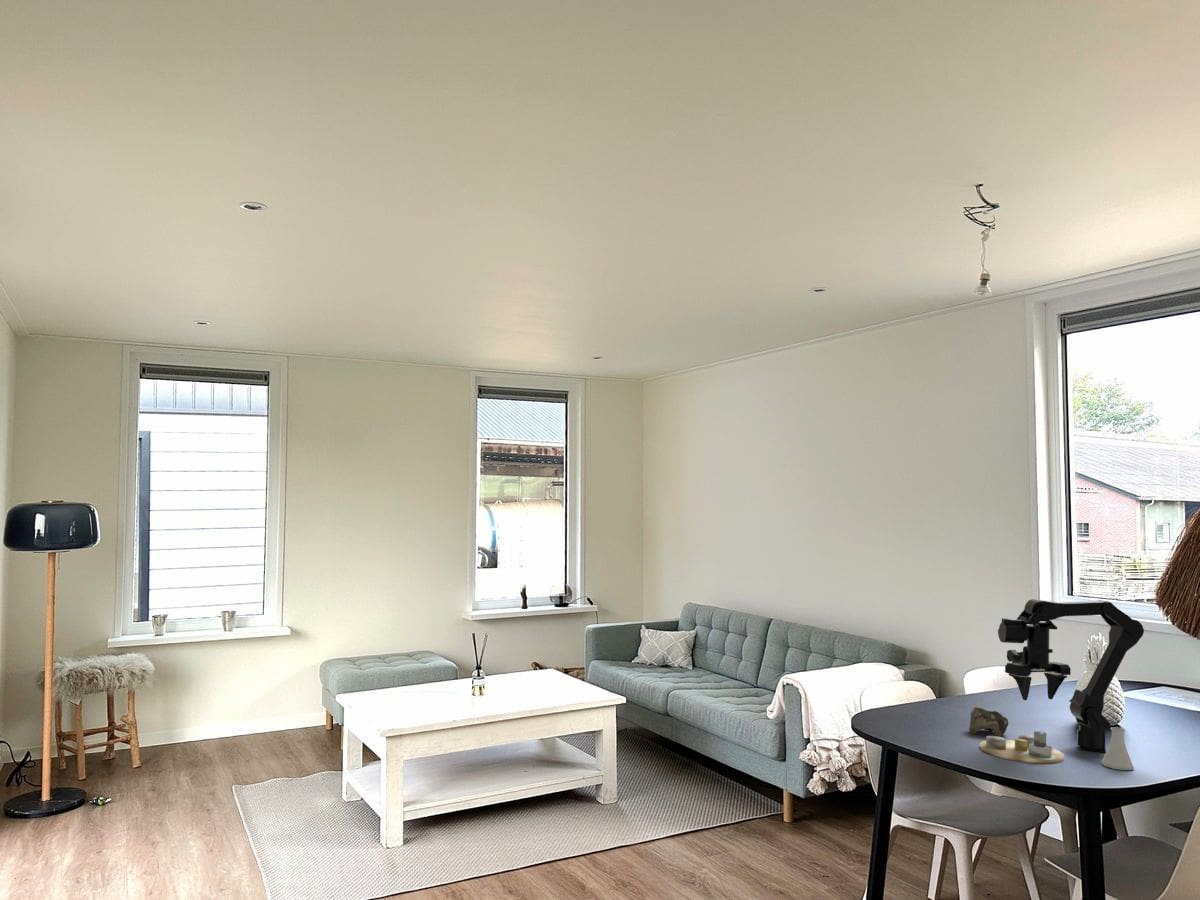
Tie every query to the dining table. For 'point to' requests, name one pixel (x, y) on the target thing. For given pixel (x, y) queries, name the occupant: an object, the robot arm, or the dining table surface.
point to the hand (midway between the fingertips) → (1037, 699)
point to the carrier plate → (1016, 749)
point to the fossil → (987, 721)
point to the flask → (1117, 752)
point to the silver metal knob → (1040, 746)
